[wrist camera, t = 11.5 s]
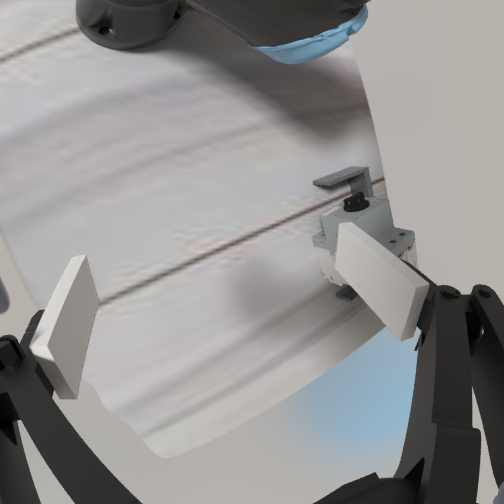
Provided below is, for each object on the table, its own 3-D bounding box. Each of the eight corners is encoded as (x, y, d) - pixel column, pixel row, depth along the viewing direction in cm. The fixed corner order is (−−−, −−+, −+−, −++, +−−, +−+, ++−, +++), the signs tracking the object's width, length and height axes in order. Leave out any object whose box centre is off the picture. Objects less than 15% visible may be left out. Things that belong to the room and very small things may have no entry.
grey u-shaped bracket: (312, 181, 49) (329, 181, 45) (351, 166, 52) (368, 166, 49) (336, 296, 56) (351, 303, 53) (369, 274, 60) (384, 279, 56)
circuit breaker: (334, 185, 51) (407, 190, 38) (352, 258, 57) (418, 279, 44) (301, 202, 49) (375, 212, 36) (323, 279, 54) (390, 306, 41)
